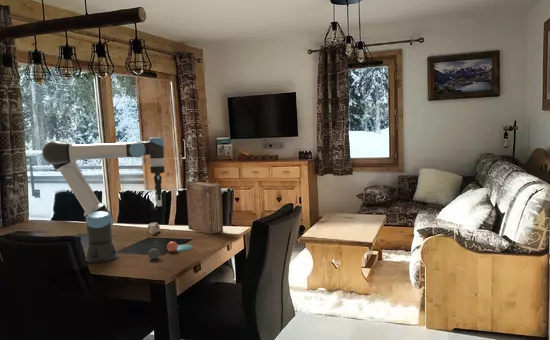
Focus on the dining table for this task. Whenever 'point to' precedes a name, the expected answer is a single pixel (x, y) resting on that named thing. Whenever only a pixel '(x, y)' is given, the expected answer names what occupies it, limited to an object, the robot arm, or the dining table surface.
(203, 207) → the book
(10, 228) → the dining table surface
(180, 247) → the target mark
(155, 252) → the gray ball
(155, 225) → the mineral specimen
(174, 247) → the object ball
